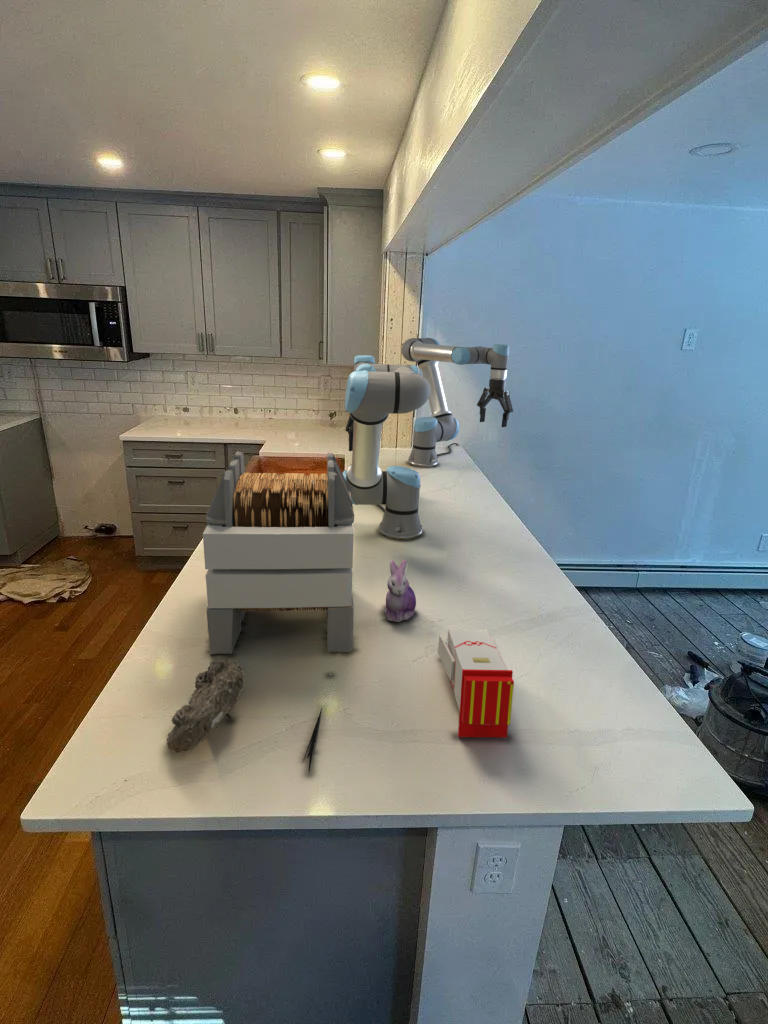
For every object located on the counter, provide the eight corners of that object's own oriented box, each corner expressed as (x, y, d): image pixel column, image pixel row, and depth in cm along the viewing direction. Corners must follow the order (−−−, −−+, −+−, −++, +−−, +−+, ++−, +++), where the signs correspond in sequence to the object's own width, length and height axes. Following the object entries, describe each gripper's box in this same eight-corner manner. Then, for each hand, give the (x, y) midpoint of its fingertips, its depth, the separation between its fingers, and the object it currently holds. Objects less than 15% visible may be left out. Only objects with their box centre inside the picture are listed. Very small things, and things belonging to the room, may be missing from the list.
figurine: (392, 627, 141) (395, 572, 136) (374, 608, 149) (376, 556, 144) (425, 619, 145) (429, 566, 140) (405, 601, 154) (408, 550, 149)
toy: (488, 613, 130) (523, 677, 101) (484, 667, 133) (517, 744, 104) (435, 612, 130) (455, 676, 101) (432, 666, 133) (451, 743, 103)
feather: (331, 679, 122) (336, 673, 122) (307, 777, 96) (313, 769, 95) (324, 675, 122) (329, 669, 121) (298, 772, 95) (304, 764, 95)
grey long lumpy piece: (192, 660, 117) (244, 628, 112) (224, 691, 120) (276, 661, 115) (142, 746, 98) (202, 712, 93) (182, 779, 101) (242, 748, 96)
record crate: (229, 585, 158) (221, 442, 144) (346, 584, 161) (350, 444, 148) (206, 656, 126) (193, 481, 112) (353, 652, 130) (358, 483, 116)
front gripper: (391, 402, 203) (388, 460, 210) (353, 393, 222) (352, 446, 229) (374, 404, 198) (372, 462, 205) (337, 394, 217) (336, 448, 224)
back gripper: (524, 381, 256) (518, 428, 263) (483, 375, 274) (478, 419, 281) (513, 382, 251) (508, 429, 258) (472, 376, 269) (468, 420, 276)
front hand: (361, 454), depth 217 cm, fingers open, 13 cm apart
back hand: (492, 424), depth 270 cm, fingers open, 13 cm apart
